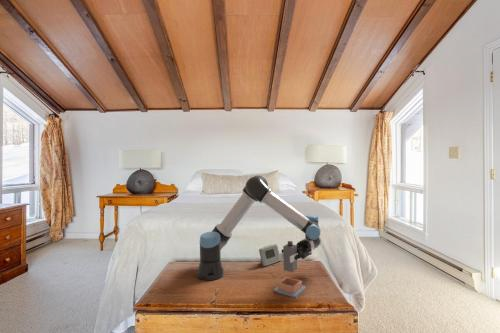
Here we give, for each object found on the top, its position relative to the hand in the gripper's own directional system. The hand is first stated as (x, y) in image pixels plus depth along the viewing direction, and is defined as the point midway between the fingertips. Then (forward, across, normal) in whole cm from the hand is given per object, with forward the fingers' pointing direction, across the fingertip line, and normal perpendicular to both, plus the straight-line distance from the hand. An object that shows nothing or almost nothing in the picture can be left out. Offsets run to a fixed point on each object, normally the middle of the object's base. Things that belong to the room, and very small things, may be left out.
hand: (285, 258), depth 134 cm
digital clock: (-32, +28, -18) cm, 46 cm away
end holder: (-5, 0, -17) cm, 18 cm away
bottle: (-5, 0, -7) cm, 9 cm away
